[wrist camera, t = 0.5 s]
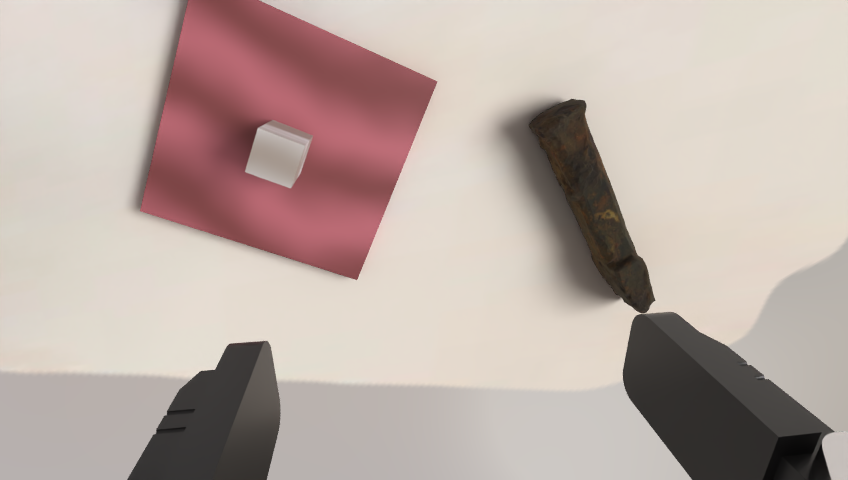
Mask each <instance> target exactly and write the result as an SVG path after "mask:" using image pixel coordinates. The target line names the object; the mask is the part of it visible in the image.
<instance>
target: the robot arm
mask: <svg viewBox="0 0 848 480" xmlns="http://www.w3.org/2000/svg"><path fill="white" fill-rule="evenodd" d="M623 381H624V386H625V389H626V392H627V394H628V396H629V398H630V399H631V401H632V402H633V404H634V405H635V406H636V407H637V409H638V410H639V411H640V413H641V414H642V415H643V417H644V418H645V419H646V420H647V421H648V423H649V424H650V426H651V427H652V428H653V429H654V431H655V432H656V433H657V435H658V436H659V437H660V439H661V440H662V441H663V442H664V444H665V445H666V446H667V448H668V449H669V450H670V451H671V453H672V454H673V455H674V457H675V458H676V459H677V461H678V462H679V463H680V464H681V466H682V467H683V468H684V469H685V471H686V472H687V473H688V475H689V476H690V477H691V479H692V480H848V432H843V431H841V432H834V431H833V430H832V429H831V428H829V427H828V426H827V425H826V424H824V423H823V422H822V421H821V420H819V419H818V418H817V417H816V416H814V415H813V414H812V413H810V412H809V411H808V410H807V409H805V408H804V407H803V406H802V405H800V404H799V403H798V402H797V401H795V400H794V399H793V398H792V397H790V396H789V395H788V394H787V393H785V392H784V391H783V390H782V389H780V388H779V387H778V386H776V385H775V384H774V383H773V382H771V381H770V380H769V379H768V380H767V379H766V380H765V378H764V375H763V374H761V373H760V372H759V371H758V370H756V369H755V368H754V367H753V366H751V365H747V362H746V361H745V360H744V359H743V358H741V357H740V356H739V355H738V354H736V353H735V352H734V351H732V350H731V349H730V348H729V347H727V346H726V345H724V344H722V343H720V342H718V341H716V340H714V339H712V338H710V337H708V336H706V335H704V334H702V333H700V332H699V331H697V330H696V329H695V328H694V327H693V326H691V325H690V324H689V323H688V322H686V321H685V320H684V319H683V318H682V317H680V316H679V315H678V314H676V313H674V312H664V313H651V314H639V315H637V316H636V317H635V318H634V320H633V322H632V326H631V331H630V337H629V342H628V347H627V352H626V358H625V363H624V368H623ZM279 425H280V399H279V393H278V388H277V381H276V375H275V369H274V363H273V357H272V351H271V347H270V344H269V342H268V341H260V342H246V343H233V344H229V345H228V346H227V347H226V349H225V351H224V353H223V355H222V357H221V359H220V361H219V363H218V365H217V367H216V369H215V370H208V371H200V372H199V373H198V374H197V375H196V376H195V377H194V378H192V379H191V380H190V381H189V382H188V383H187V384H186V385H184V386H183V387H182V388H181V389H180V390H179V392H178V393H177V395H176V397H175V399H174V400H173V402H172V404H171V405H170V407H169V409H168V411H167V416H164V418H163V419H162V421H161V423H160V424H159V426H158V428H157V430H156V431H157V432H156V434H155V435H153V437H152V438H151V440H150V442H149V443H148V445H147V447H146V448H145V450H144V452H143V454H142V455H141V457H140V459H139V460H138V462H137V464H136V466H135V467H134V469H133V471H132V472H131V474H130V476H129V478H128V480H267V476H268V472H269V468H270V464H271V460H272V456H273V451H274V448H275V443H276V439H277V435H278V431H279Z"/></svg>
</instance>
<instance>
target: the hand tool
mask: <svg viewBox="0 0 848 480" xmlns="http://www.w3.org/2000/svg"><path fill="white" fill-rule="evenodd" d="M585 111H586V103H585V101H584V100H575V99H570V100H568V101H566V102H563V103H560V104H559V105H557V106H555V107H553V108H550V109H548V110H546V111H545V112H543V113H541V114H540V115H538V116H537V117H536V118H535V119H534V120H532V122H531V123H530V124H529V127H530V128H531V129H532V132H533V133H535V134H536V135H538V136H539V143H540V147H541V148H542V149H544V150H546V152H547V155H548V158H549V161H550V163H551V165H552V169H553V172H554V173H555V175H556V178H557V180H558V182H559V185H560V186H561V185H562V187H563V190H564V192H565V195H566V199H567V201H568V202H569V204H570V206H571V208H572V211H573V213H574V215H575V217H576V219H577V221H578V223H579V226H580V228H581V230H582V233H583V235H584V237H585V239H586V241H587V243H588V246H589V248H590V250H591V252H592V259H593V261H594V263H595V265H596V267H597V268H598V270H599V272H600V273H601V275H602V277H603V278H605V280H606V281H607V282H608V284H609V285H610V286H611V288H613V291H614V292H615V294H617V295H619V296H620V297H621V298H622V299H623V300H624V302H625V303H627V304H628V305H630V306H632V307H633V308H634V309H635V310H636V311H638V312H640V313H646V312H647V311H648V310H649V307H650V305H651V304H652V303H653V302H654V301H655V298H654V295H653V291H652V286H651V284H650V279H649V274H648V270H647V266H646V264H645V262H644V261H643V259H642V258H641V257H639V256H638V255H637V253H636V250H635V247H634V245H633V242H632V240H631V238H630V236H629V233H628V231H627V229H626V226H625V222H624V219H623V216H622V214H621V211H620V208H619V205H618V202H617V199H616V197H615V194H614V191H613V189H612V186H611V183H610V180H609V178H608V176H607V173H606V170H605V168H604V165H603V163H602V160H601V157H600V154H599V152H598V150H597V148H596V145H595V143H594V140H593V137H592V135H591V133H590V130H589V127H588V125H587V121H586V118H585Z"/></svg>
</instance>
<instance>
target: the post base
mask: <svg viewBox="0 0 848 480" xmlns="http://www.w3.org/2000/svg"><path fill="white" fill-rule="evenodd" d="M436 84H437V81H435V80H433V79H431V78H428V77H426V76H424V75H422V74H420V73H417V72H415V71H413V70H411V69H409V68H406V67H404V66H402V65H400V64H398V63H395V62H393V61H391V60H389V59H387V58H384V57H382V56H380V55H378V54H376V53H373V52H371V51H369V50H367V49H365V48H362V47H360V46H358V45H356V44H354V43H351V42H349V41H347V40H345V39H343V38H340V37H338V36H336V35H334V34H332V33H329V32H327V31H325V30H323V29H320V28H318V27H316V26H314V25H312V24H309V23H307V22H305V21H303V20H301V19H298V18H296V17H294V16H292V15H290V14H287V13H285V12H283V11H281V10H279V9H276V8H274V7H272V6H270V5H268V4H265V3H263V2H261V1H259V0H188V4H187V8H186V12H185V17H184V21H183V26H182V30H181V34H180V39H179V43H178V47H177V52H176V56H175V61H174V65H173V69H172V74H171V78H170V82H169V87H168V91H167V96H166V100H165V104H164V109H163V113H162V117H161V122H160V126H159V130H158V135H157V139H156V144H155V148H154V152H153V157H152V161H151V165H150V170H149V174H148V179H147V183H146V187H145V192H144V196H143V200H142V205H141V209H140V211H142V212H145V213H148V214H151V215H154V216H158V217H161V218H164V219H167V220H170V221H173V222H176V223H180V224H183V225H186V226H189V227H192V228H195V229H198V230H202V231H205V232H208V233H211V234H214V235H217V236H220V237H224V238H227V239H230V240H233V241H236V242H239V243H242V244H246V245H249V246H252V247H255V248H258V249H261V250H264V251H268V252H271V253H274V254H277V255H280V256H283V257H286V258H290V259H293V260H296V261H299V262H302V263H305V264H309V265H312V266H315V267H318V268H321V269H324V270H327V271H331V272H334V273H337V274H340V275H343V276H346V277H349V278H353V279H356V280H357V279H358V276H359V274H360V271H361V269H362V267H363V264H364V262H365V259H366V257H367V254H368V252H369V249H370V247H371V244H372V242H373V239H374V237H375V234H376V232H377V229H378V227H379V225H380V222H381V220H382V217H383V215H384V212H385V210H386V207H387V205H388V202H389V200H390V197H391V195H392V192H393V190H394V187H395V185H396V183H397V180H398V178H399V175H400V173H401V170H402V168H403V165H404V163H405V160H406V158H407V155H408V153H409V150H410V148H411V145H412V143H413V141H414V138H415V136H416V133H417V131H418V128H419V126H420V123H421V121H422V118H423V116H424V113H425V111H426V108H427V106H428V103H429V101H430V99H431V96H432V94H433V91H434V89H435V86H436Z"/></svg>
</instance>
